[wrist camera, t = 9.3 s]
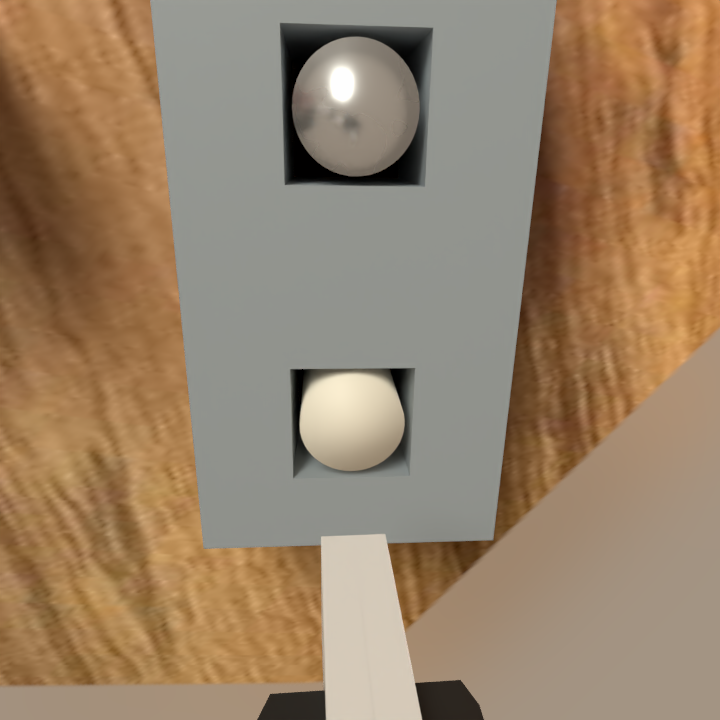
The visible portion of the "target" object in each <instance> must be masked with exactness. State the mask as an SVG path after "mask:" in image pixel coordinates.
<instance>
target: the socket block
mask: <svg viewBox="0 0 720 720" xmlns="http://www.w3.org/2000/svg"><path fill="white" fill-rule="evenodd" d="M150 1H151V12H152V22H153V32H154V42H155V53H156V63H157V73H158V83H159V94H160V104H161V114H162V124H163V135H164V145H165V155H166V166H167V176H168V186H169V196H170V207H171V217H172V227H173V237H174V248H175V258H176V268H177V279H178V289H179V299H180V309H181V320H182V330H183V340H184V350H185V361H186V371H187V381H188V392H189V402H190V412H191V422H192V433H193V443H194V453H195V463H196V474H197V484H198V494H199V505H200V515H201V525H202V535H203V546H204V549H210V548H244V547H278V546H312V545H321V537H322V536H346V535H370V534H385V535H386V540H387V543H413V542H447V541H481V540H493V537H494V529H495V520H496V511H497V503H498V494H499V486H500V477H501V469H502V460H503V452H504V443H505V435H506V426H507V418H508V409H509V401H510V392H511V384H512V375H513V367H514V358H515V350H516V341H517V333H518V324H519V316H520V307H521V299H522V290H523V282H524V273H525V265H526V256H527V248H528V239H529V231H530V222H531V214H532V205H533V197H534V188H535V180H536V171H537V163H538V154H539V146H540V137H541V129H542V120H543V112H544V103H545V95H546V86H547V77H548V69H549V60H550V52H551V43H552V35H553V26H554V18H555V9H556V1H557V0H150ZM345 37H366V38H370V39H374V40H376V41H379V42H381V43H383V44H385V45H387V46H388V47H390V48H391V49H392V50H394V51H395V52H396V53H397V54H398V55H399V56H400V57H401V58H402V59H403V60H404V62H405V63H406V64H407V66H408V67H409V69H410V71H411V73H412V75H413V77H414V80H415V82H416V85H417V89H418V94H419V101H420V112H419V120H418V125H417V129H416V132H415V134H414V137H413V139H412V141H411V143H410V145H409V146H408V148H407V149H406V151H405V152H404V153H403V154H402V156H401V157H400V158H399V159H398V178H342V177H294V145H293V114H292V60H308V59H309V58H310V57H311V56H312V55H313V54H314V53H315V52H316V51H317V50H319V49H320V48H321V47H323V46H324V45H326V44H328V43H330V42H332V41H335V40H337V39H340V38H345ZM366 368H391V375H392V378H393V381H394V384H395V387H396V390H397V394H398V397H399V400H400V403H401V406H402V409H403V413H404V419H405V426H404V432H403V436H402V438H401V441H400V443H399V445H398V446H397V448H396V449H395V450H394V452H393V453H392V454H391V455H390V456H389V457H388V458H387V459H385V460H384V461H383V462H381V463H379V464H378V465H375V466H373V467H371V468H367V469H364V470H359V471H343V470H338V469H334V468H331V467H329V466H326V465H324V464H323V463H321V462H319V461H318V460H317V459H315V458H314V457H313V456H312V455H311V454H310V452H309V451H308V450H307V448H306V447H305V445H304V443H303V440H302V438H301V434H300V412H301V404H300V401H299V369H366Z"/></svg>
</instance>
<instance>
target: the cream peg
mask: <svg viewBox="0 0 720 720" xmlns="http://www.w3.org/2000/svg"><path fill="white" fill-rule="evenodd" d="M404 426H405V419H404V413H403V409H402V406H401V403H400V400H399V397H398V394H397V390H396V387H395V384H394V381H393V378H392V375H391V372H390V368H366V369H304V375H303V387H302V400H301V412H300V434H301V438H302V440H303V443H304V445H305V447H306V448H307V450H308V451H309V452H310V454H311V455H312V456H313V457H314V458H315V459H317V460H318V461H319V462H321V463H323V464H324V465H326V466H329V467H331V468H334V469H338V470H343V471H359V470H364V469H367V468H371V467H373V466H375V465H378V464H379V463H381V462H383V461H384V460H385V459H387V458H388V457H389V456H390V455H391V454H392V453H393V452H394V450H395V449H396V448H397V446H398V445H399V443H400V441H401V438H402V436H403V432H404Z"/></svg>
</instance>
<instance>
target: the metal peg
mask: <svg viewBox="0 0 720 720" xmlns="http://www.w3.org/2000/svg"><path fill="white" fill-rule="evenodd" d="M419 112H420V101H419V94H418V89H417V85H416V82H415V80H414V77H413V75H412V73H411V71H410V69H409V67H408V66H407V64H406V63H405V62H404V60H403V59H402V58H401V57H400V56H399V55H398V54H397V53H396V52H395V51H394V50H392V49H391V48H390V47H388V46H387V45H385V44H383V43H381V42H379V41H376V40H374V39H370V38H366V37H345V38H340V39H337V40H335V41H332V42H330V43H328V44H326V45H324V46H323V47H321V48H320V49H319V50H317V51H316V52H315V53H314V54H313V55H312V56H311V57H310V58H309V59H308V61H307V62H306V63H305V65H304V66H303V68H302V70H301V71H300V73H299V76H298V78H297V80H296V84H295V87H294V91H293V98H292V114H293V120H294V125H295V129H296V131H297V134H298V137H299V139H300V141H301V143H302V144H303V146H304V147H305V149H306V150H307V152H308V153H309V154H310V155H311V156H312V157H313V158H314V159H315V160H316V161H317V162H318V163H319V164H321V165H322V166H324V167H325V168H327V169H329V170H331V171H333V172H335V173H338V174H342V175H346V176H366V175H371V174H374V173H377V172H380V171H382V170H384V169H386V168H387V167H389V166H390V165H392V164H393V163H394V162H395V161H397V160H398V159H399V158H400V157H401V156H402V154H403V153H404V152H405V151H406V149H407V148H408V146H409V145H410V143H411V141H412V139H413V137H414V134H415V132H416V129H417V125H418V120H419Z"/></svg>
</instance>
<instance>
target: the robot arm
mask: <svg viewBox="0 0 720 720" xmlns="http://www.w3.org/2000/svg"><path fill="white" fill-rule="evenodd" d="M321 594H322V653H323V689H324V690H323V691H310V692H294V693H279V694H270V696H269V698H268V700H267V702H266V704H265V706H264V707H263V709H262V711H261V714H260V715H259V718H258V719H257V720H484V719H483V716H482V712H481V709H480V706H479V704H478V703H477V701H476V700H475V699H474V697H473V696H472V695H471V693H470V692H469V691H468V689H467V688H466V687H465V685H464V684H463V683H462V682H461V680H456V681H440V682H424V683H415V682H414V676H413V671H412V666H411V662H410V656H409V652H408V647H407V642H406V636H405V631H404V626H403V621H402V616H401V611H400V606H399V601H398V596H397V591H396V586H395V581H394V575H393V570H392V565H391V560H390V555H389V550H388V545H387V540H386V535H385V534H370V535H346V536H322V537H321Z"/></svg>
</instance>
